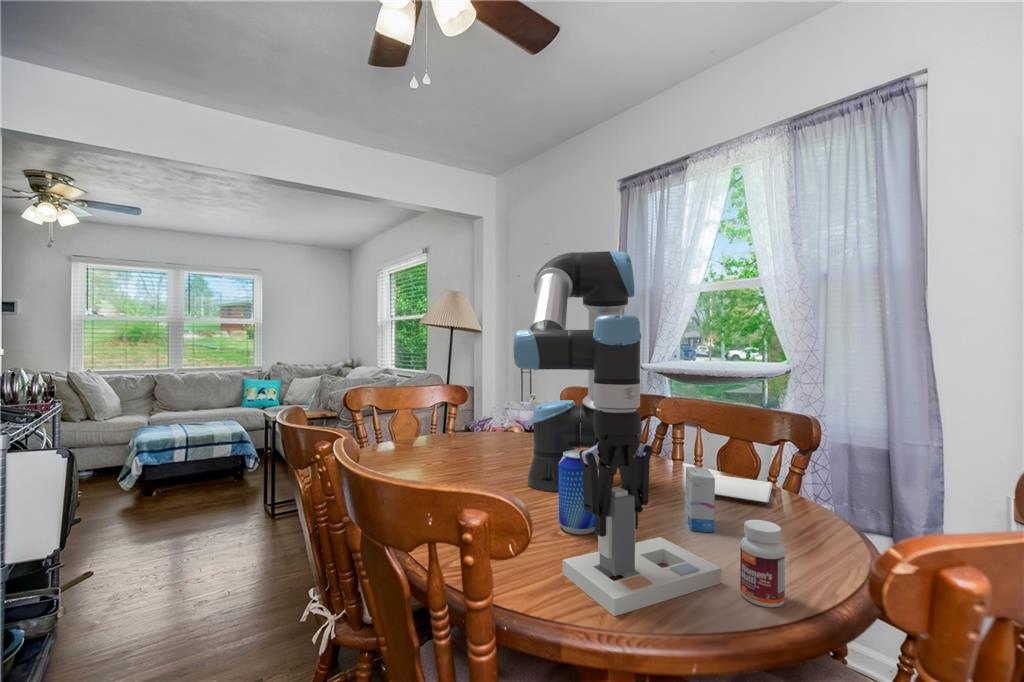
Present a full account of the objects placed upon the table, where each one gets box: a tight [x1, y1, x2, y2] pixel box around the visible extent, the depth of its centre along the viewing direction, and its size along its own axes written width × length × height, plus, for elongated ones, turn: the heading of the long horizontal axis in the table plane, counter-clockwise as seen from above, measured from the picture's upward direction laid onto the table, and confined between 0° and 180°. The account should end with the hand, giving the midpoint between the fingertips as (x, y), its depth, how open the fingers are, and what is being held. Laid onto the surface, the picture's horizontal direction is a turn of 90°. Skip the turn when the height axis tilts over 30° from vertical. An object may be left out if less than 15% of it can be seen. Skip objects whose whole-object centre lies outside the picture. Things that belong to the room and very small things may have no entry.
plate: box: [711, 473, 773, 505], centre depth 127 cm, size 19×19×2 cm
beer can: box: [558, 449, 599, 535], centre depth 102 cm, size 8×8×16 cm
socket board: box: [562, 536, 722, 617], centre depth 80 cm, size 14×22×3 cm, turn 116°
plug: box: [600, 486, 636, 577], centre depth 77 cm, size 4×4×13 cm
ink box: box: [684, 466, 716, 533], centre depth 104 cm, size 9×5×12 cm, turn 168°
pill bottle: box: [739, 519, 786, 608], centre depth 74 cm, size 6×6×11 cm
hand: (616, 551), depth 77 cm, fingers closed on plug, 4 cm apart
